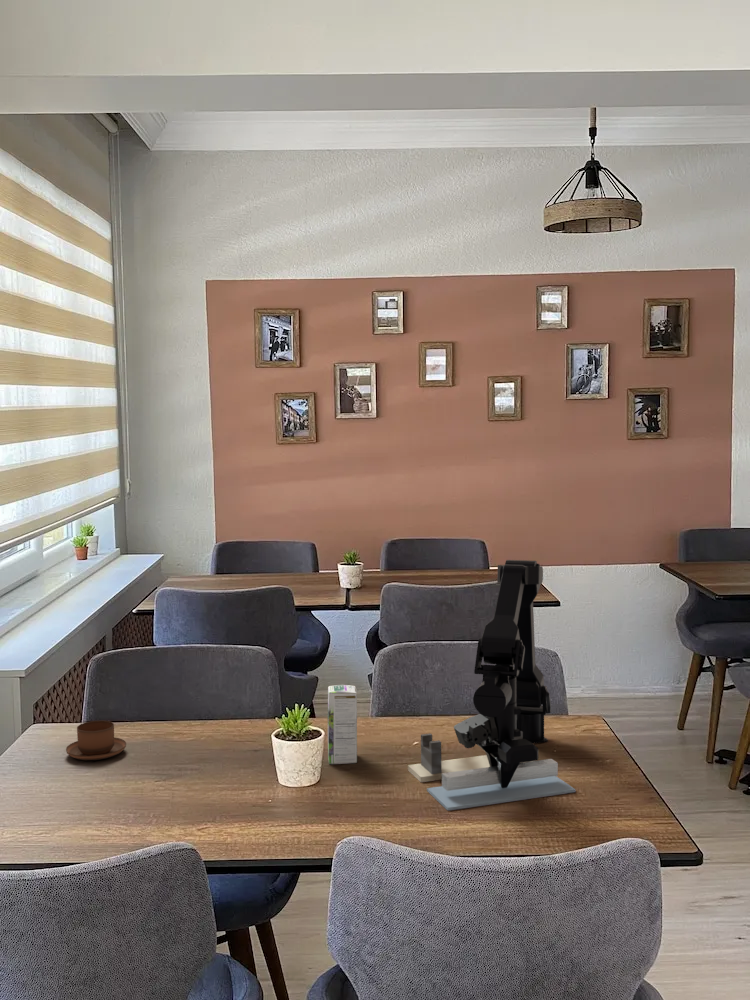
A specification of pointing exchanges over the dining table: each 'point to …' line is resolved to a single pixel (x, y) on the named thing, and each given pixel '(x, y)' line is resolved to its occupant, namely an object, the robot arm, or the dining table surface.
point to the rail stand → (435, 767)
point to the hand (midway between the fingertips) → (500, 785)
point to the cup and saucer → (95, 741)
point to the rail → (492, 775)
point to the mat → (500, 793)
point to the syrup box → (342, 724)
